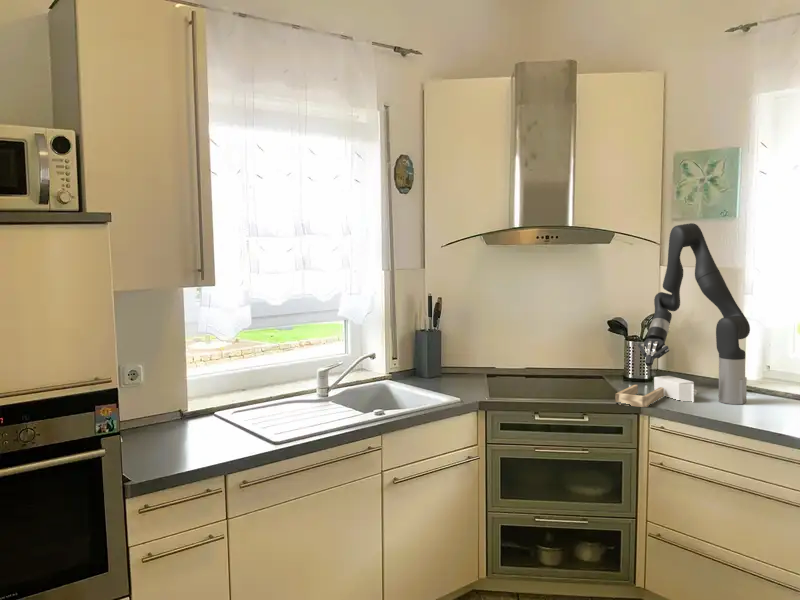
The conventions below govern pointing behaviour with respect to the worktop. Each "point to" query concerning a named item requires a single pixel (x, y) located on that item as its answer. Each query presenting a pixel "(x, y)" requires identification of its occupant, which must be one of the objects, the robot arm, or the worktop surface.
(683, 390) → the milk carton
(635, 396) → the U-rest
